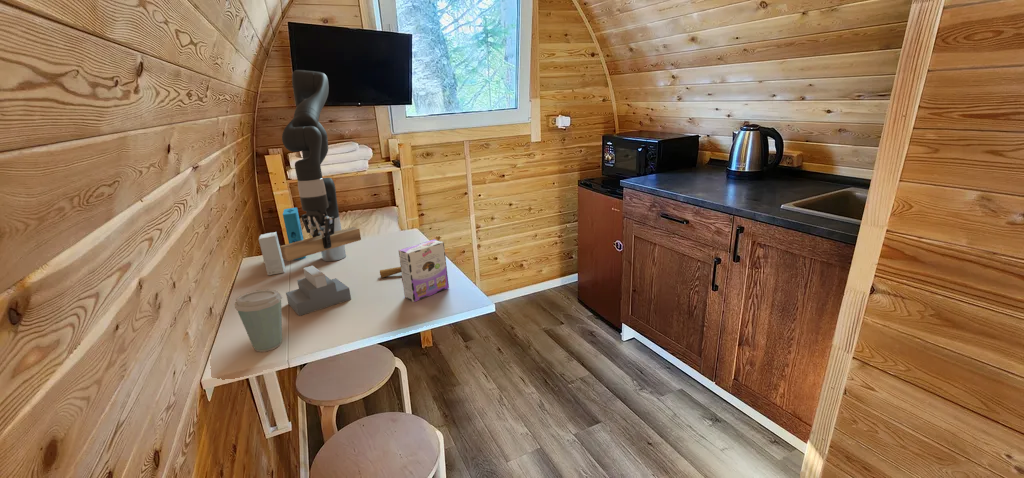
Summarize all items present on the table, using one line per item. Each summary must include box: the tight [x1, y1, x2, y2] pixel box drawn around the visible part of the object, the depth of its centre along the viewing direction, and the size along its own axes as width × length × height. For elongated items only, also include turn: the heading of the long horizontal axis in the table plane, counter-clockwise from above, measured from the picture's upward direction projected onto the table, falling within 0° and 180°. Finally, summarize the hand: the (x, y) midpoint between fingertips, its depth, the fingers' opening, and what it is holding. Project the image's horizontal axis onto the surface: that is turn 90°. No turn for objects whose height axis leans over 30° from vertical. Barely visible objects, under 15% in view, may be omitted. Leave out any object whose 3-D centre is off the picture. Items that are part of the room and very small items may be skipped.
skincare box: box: [258, 231, 286, 276], centre depth 170 cm, size 8×6×15 cm
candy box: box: [398, 239, 450, 303], centre depth 142 cm, size 14×6×16 cm, turn 134°
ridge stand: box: [285, 265, 352, 317], centre depth 141 cm, size 12×16×10 cm
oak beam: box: [280, 226, 362, 262], centre depth 139 cm, size 4×24×4 cm, turn 140°
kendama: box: [379, 266, 402, 279], centre depth 161 cm, size 8×6×18 cm
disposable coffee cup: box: [234, 289, 283, 353], centre depth 114 cm, size 11×11×15 cm
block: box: [282, 207, 307, 261], centre depth 185 cm, size 12×5×20 cm, turn 23°
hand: (322, 246), depth 140 cm, fingers closed on oak beam, 4 cm apart
